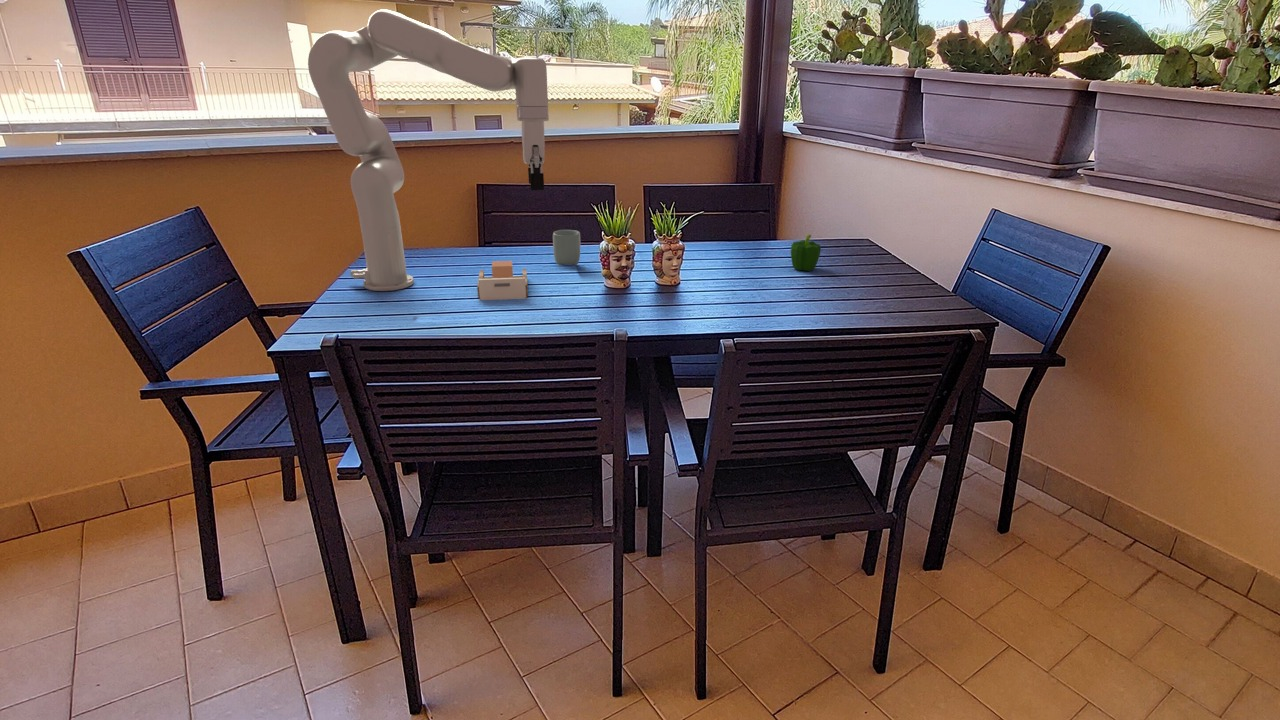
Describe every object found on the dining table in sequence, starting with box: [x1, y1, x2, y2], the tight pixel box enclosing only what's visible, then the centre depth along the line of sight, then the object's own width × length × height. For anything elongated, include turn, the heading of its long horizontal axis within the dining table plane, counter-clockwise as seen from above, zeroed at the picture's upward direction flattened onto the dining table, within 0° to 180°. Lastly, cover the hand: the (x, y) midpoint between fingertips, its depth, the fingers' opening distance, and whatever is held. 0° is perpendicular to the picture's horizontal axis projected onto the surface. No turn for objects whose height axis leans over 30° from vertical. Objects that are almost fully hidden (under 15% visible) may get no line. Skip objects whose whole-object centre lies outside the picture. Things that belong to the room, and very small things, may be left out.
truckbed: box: [476, 268, 529, 300], centre depth 167 cm, size 15×12×4 cm
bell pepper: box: [790, 233, 821, 272], centre depth 192 cm, size 8×8×10 cm
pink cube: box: [491, 260, 514, 278], centre depth 167 cm, size 5×5×6 cm
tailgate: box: [477, 277, 527, 301], centre depth 159 cm, size 1×11×6 cm, turn 100°
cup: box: [552, 229, 581, 267], centre depth 190 cm, size 8×8×10 cm
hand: (536, 186), depth 164 cm, fingers open, 9 cm apart
